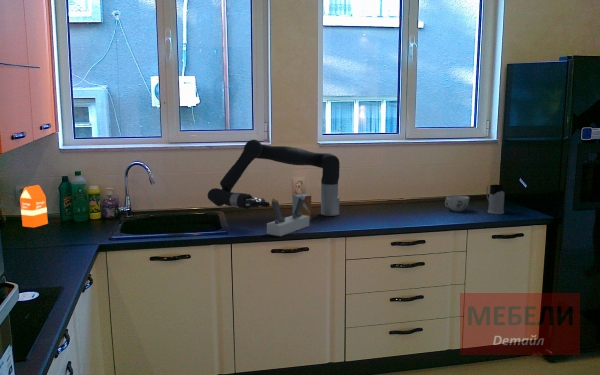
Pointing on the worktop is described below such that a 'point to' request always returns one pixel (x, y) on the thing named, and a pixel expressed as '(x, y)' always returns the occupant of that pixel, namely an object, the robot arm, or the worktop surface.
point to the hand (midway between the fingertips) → (268, 204)
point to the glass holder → (496, 199)
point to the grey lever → (299, 205)
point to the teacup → (457, 202)
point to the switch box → (287, 225)
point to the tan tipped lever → (277, 209)
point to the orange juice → (33, 207)
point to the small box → (306, 205)
